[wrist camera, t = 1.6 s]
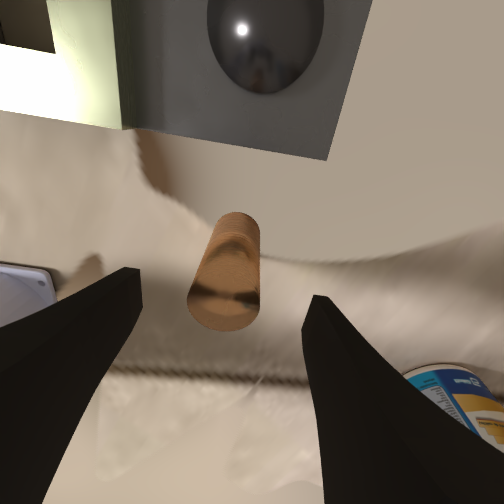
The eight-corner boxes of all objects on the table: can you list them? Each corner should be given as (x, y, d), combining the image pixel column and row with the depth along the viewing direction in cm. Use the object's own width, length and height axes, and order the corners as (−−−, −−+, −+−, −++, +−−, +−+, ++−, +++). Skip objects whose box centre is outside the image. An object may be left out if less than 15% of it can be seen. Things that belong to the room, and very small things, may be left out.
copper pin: (255, 256, 17) (253, 335, 11) (212, 250, 17) (186, 326, 11) (263, 216, 16) (265, 280, 10) (216, 208, 16) (188, 269, 9)
